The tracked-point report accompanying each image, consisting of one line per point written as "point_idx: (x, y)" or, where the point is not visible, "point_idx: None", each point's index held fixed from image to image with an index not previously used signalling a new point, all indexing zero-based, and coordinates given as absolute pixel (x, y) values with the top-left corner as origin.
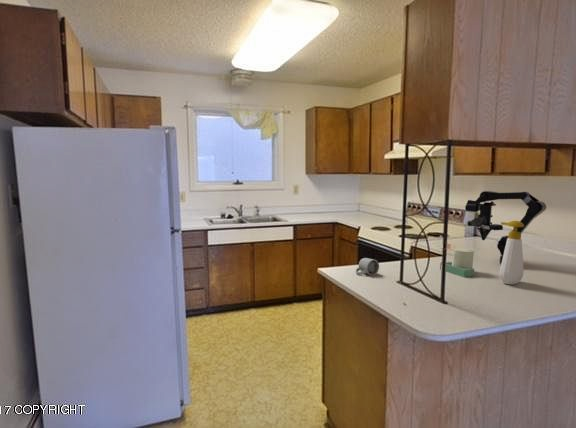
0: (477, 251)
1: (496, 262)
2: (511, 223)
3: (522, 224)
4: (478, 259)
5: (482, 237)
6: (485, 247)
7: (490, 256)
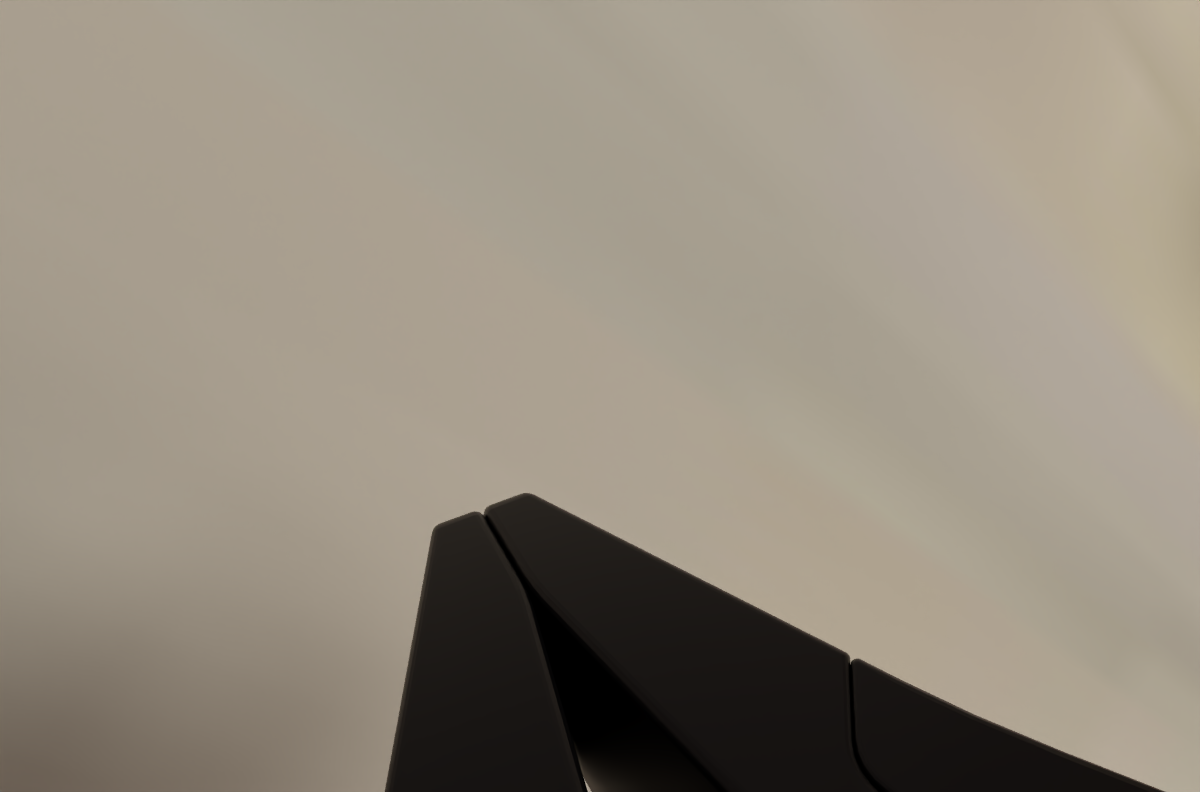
0: (1002, 562)
1: (74, 467)
2: None
3: None
4: (450, 175)
5: (540, 596)
6: None
7: None
